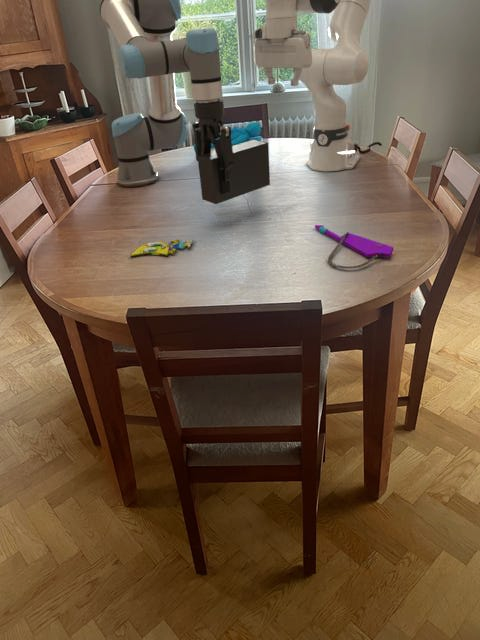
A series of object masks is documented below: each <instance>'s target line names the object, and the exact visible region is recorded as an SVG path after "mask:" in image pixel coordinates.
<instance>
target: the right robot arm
mask: <svg viewBox="0 0 480 640" xmlns="http://www.w3.org/2000/svg"><path fill="white" fill-rule="evenodd" d="M371 2H372V1H371V0H264V5H265V17H264V19H265V20H264V24H262V25H261V26H259V27H258V28H257V29H254V30H253V32H252V35H253V39H254V43H253V60H254V65H255V67H256V68H264V73H265V76H266V78H267V84H268V86H269V85H271V86H272V85H275V84H276V76H275V77H274V74H273V71H274V69H292V73H293V77H292V78H291V79H290V86H292V87H298V86H299V82H301V83H302V84H303V85H304V86H305V88H307V89H308V90H307V91H308V92H309V94H310V96H311V99H312V103H313V113H314V114H313V115H314V127H313V129H312V134H313V135H312V139H313V140H312V141H311V142H310V145H309V155H308V157H309V159H308V160H307V161H305V164H306V165H307V166H309V168H310V169H311V170H313V171H316V172H317V171H318V172H337V171H343V170H352V169H354V168H355V166H356V165H357V163H358V162H359V161H360V160H361V156H360V155H358V154H355V153H357V152H358V153H359V154H366V153H369V152H370V151H371V148H372V147H373V146H376V145H377V146H379V147H382V146H383V144H382V143H381V142H380V141H375V142H372V143H370V144H369V145H367V146H366V149H364V150H362V148H361V146H360V145H358V143H354V142H353V141H352V140H351V139H350V138H349V137H348V136H349V135H348V134H349V133H348V131H350V130H351V125H350V124H346V123H347V103H346V101H345V99H344V98H342V97H341V96H339V94H338V93H337V92H336V91H335V88H334V86H349V85H354V84H359V83H361V82H362V81H363V80H364V79H365V77H366V76H367V75H368V72H369V67H370V61H369V57H368V55H367V53H366V52H365V50H364V49H363V48H362V47H361V41H360V40H361V35H362V31H363V28H364V25H365V22H366V20H367V16H368V13H369V9H370V6H371ZM308 14H332V16H331V18H330V21H329V24H328V26H327V27H328V29H327V31H328V36H329V38H330V40H331V41H332V42H333V43H334V44H335V46H334V47H332V48H314V49H312V43H311V34H310V33H309V32H308V31H307V30H306V29H298V15H308Z"/></svg>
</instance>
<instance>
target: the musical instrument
mask: <svg viewBox="0 0 480 640" xmlns="http://www.w3.org/2000/svg"><path fill="white" fill-rule="evenodd" d="M314 229H315V230H318V231H319V232H320V233H322V234H324V235H326V236H328V237H330V238H332V239H333V240H335V241H337V242H338V243H337V244H336V246H335V247H334V249H333V250H332V251H331V253H330V254H329V256H328V259H327V262H328V264H329V266H331V267H333V268H340V269H358V268H362V267H364V266H366V265H368V264H370V263H371V262H373V261H374V260H375V259H376V258H378V257H381V258H391V256H392V254H393V251H394V246H393V245H392V246H391V245H389V244H386V243H383V242H380V241H376V240H372V239H369V238H367V237H363V236H361V235H358V234H354V233H351V232H348V231H347V232H346V233H344V234H342V235H338V234H336V233H335V232H333V231H331V230H330V229H328V228H326V227H325V226H324V225H323V224H322V225H321V224H316V225H314ZM342 244H343V245H344V246H345V247H348V248H350V249H352V250H353V251H355V252H357V253H359V254H360V255H362V256H364V257H366V258H370V259H367V260H366V261H364V262H363V263H361V264H358V265H353V266H350V265H349V266H348V265H347V266H346V265H345V266H344V265H340V264H338V265H337V264H334V263H333V262H332V258H333V256H334V255H335V253H336V252H337V250H338V249H339V248H340V246H341V245H342Z"/></svg>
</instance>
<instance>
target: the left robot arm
mask: <svg viewBox="0 0 480 640" xmlns="http://www.w3.org/2000/svg"><path fill="white" fill-rule="evenodd" d="M181 5H182V4H181V0H99V4H98V7H99V8H98V11H99V15H100V17H101V20H102V22H103V24H104V25H105V26H106V27H107V28H108V29H109V30H111V31H112V33H113V35H114V37H115V39H116V41H117V43H118V44H119V46H120V47H119V48H118V56H119V63H120V67H121V70H122V73H123V76H124V77H125V78H126V79H128V80H129V79H130V80H131V79H139V80H140V79H143V78H149V87H150V99H151V107H150V108H149V109H148V116H143V114H142V113H138V112H137V113H130V114H127V115H123V116H120V117H118V118H116V119H114V120H113V121H112V122H111V132H112V138H113V141H114V146H115V151H116V155H117V160H118V167H117V168H118V170H117V179H116V180H117V183H118V186H120V187H123V188H124V187H125V188H136V187H137V188H138V187H145V186H147V185H148V186H149V185H151V184H154V183H156V182H157V181H158V180H159V176H158V172H157V169H156V167H155V166H154V163H153V161H152V159H151V156H150V151H156V150H162V149H168V148H176V147H178V146H182V145H184V144H185V143H186V141H187V136H188V125H187V117H186V115H185V113H184V112H183V111H182V110H181V108H180V107H179V106H178V105H177V95H176V80H175V79H176V78H175V74H183V73H189V75H190V82H191V83H190V84H191V92H192V93H191V95H192V100H193V101H195V102H194V103H193V109H194V117H195V118H196V119H198V122H194V123H192V125H191V127H192V130H193V137H194V145H195V150H194V152H195V151H196V153H195V160H196V161H197V162H198V158H197V156H199V155H203V154H206V153H210V152H211V143H212V144H214V147H215V151H216V154H217V158H218V161H219V165H220V168H219V179H220V189H221V194H224V193H227V192H230V184H229V180H230V174H229V168H230V167H233V166H234V158H233V150H232V142H231V129H232V127H231V126H227V127H226V126H225V125H224V122H223V119H222V118H223V117H224V116H225V105H224V101H223V99H222V98H223V97H224V95H223V94H224V93H223V87H222V86H223V84H222V73H221V72H222V71H221V60H220V43H219V38H218V33H217V31H216V29H215V28H211V27H210V28H198V29H197V28H196V29H190V30H188V31H186V33H185V37H182V38H178V39H173V33H174V32H175V31H176V30H177V22H179V21H181V20H182V7H181ZM218 138H219V139H218ZM216 139H217V140H216Z"/></svg>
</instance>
